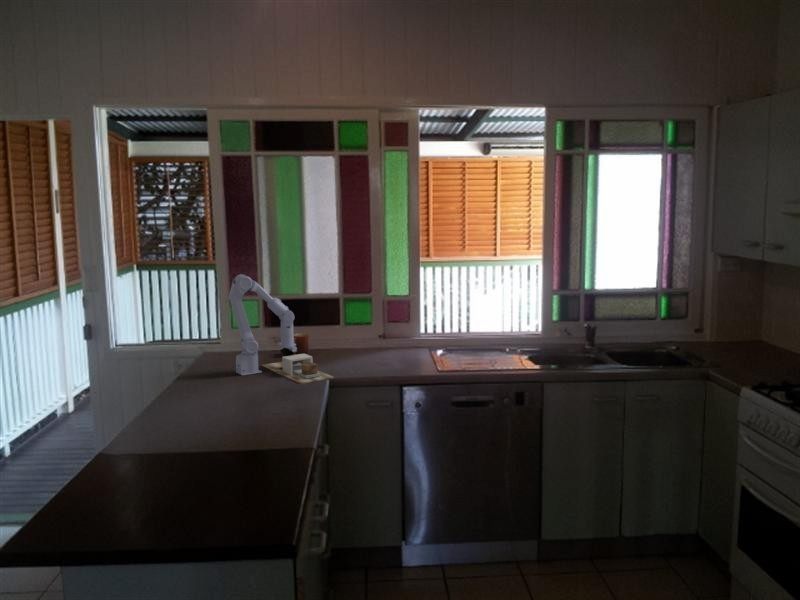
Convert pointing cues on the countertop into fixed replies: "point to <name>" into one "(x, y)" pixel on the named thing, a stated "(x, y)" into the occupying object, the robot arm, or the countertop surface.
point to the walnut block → (309, 369)
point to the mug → (302, 343)
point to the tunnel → (289, 359)
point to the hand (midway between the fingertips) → (287, 364)
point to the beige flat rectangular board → (297, 378)
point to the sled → (298, 369)
